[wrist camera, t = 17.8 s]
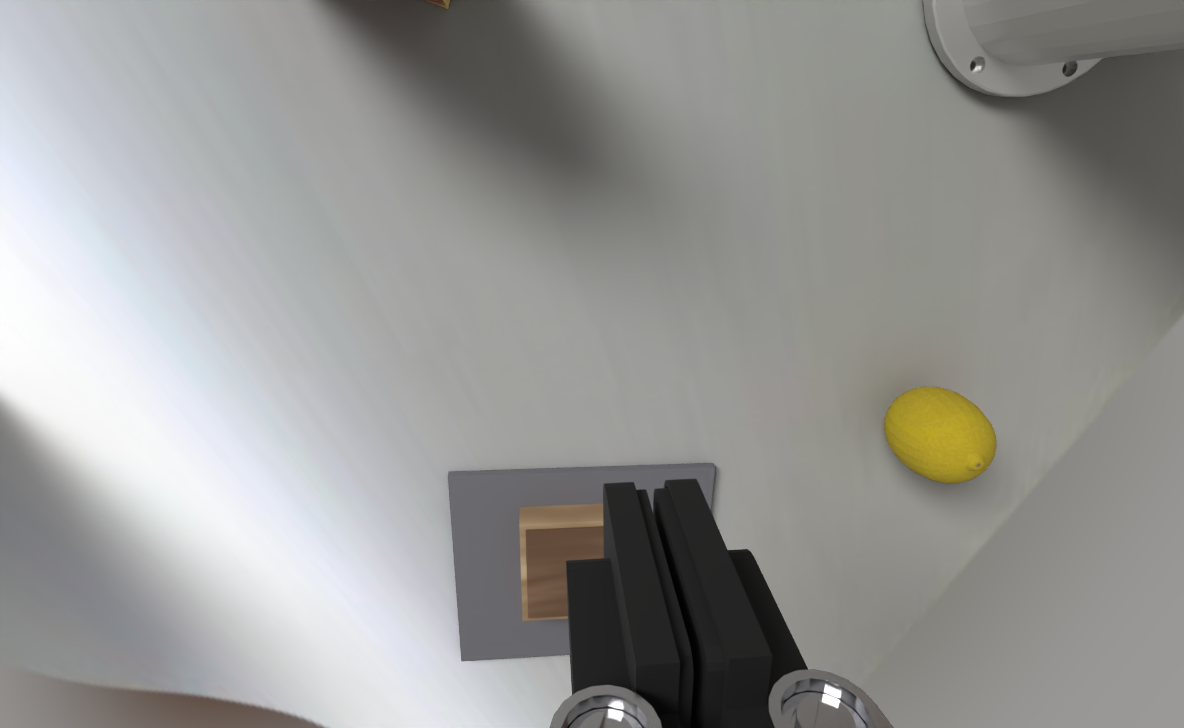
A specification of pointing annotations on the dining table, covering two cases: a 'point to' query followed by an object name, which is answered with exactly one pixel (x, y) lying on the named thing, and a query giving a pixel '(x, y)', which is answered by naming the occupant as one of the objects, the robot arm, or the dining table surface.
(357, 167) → the dining table surface
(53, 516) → the dining table surface
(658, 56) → the dining table surface
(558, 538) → the wooden box
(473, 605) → the mat
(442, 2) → the candy box
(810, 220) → the dining table surface
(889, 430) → the lemon
